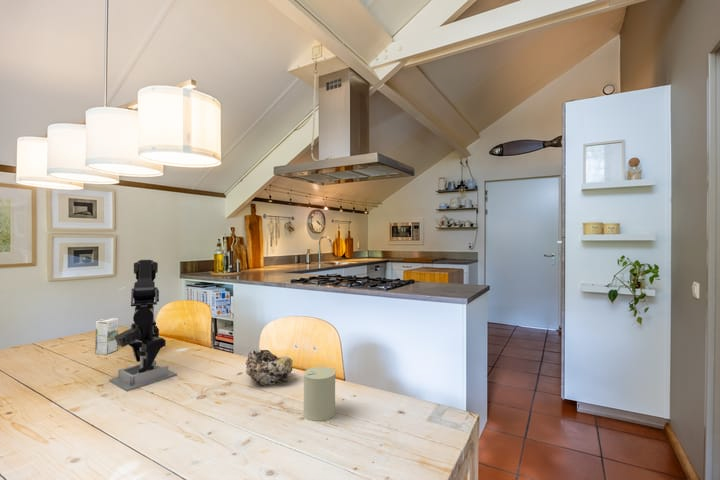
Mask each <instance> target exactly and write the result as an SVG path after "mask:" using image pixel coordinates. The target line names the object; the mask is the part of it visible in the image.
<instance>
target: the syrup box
mask: <svg viewBox="0 0 720 480" xmlns="http://www.w3.org/2000/svg"><path fill="white" fill-rule="evenodd" d="M119 320H120V319H119V318H116V317H106V318H102V319H98V320H96V321H95V347H94V348H95V349H94V351H95V355H109V354H112V353H114V352H117V351H118V350H119V345H118V344H117V342H116V340H115V336H116V335H118V334H119Z"/></svg>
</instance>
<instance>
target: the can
mask: <svg viewBox="0 0 720 480" xmlns="http://www.w3.org/2000/svg"><path fill="white" fill-rule="evenodd" d="M336 374H337V372H336V370H335V369H334V368H332V367H329V366H313V367H310V368H308V369H306V370H305V371H304V372H303V412H302V414H303V417H304V418H305V419H307V420H308V421H309V420H310V421H312V422H313V421H314V422H324V421H326V420H327V421H328V420H329V419H331V418H332V417H334V416H335V415H336V411H337V410H336Z"/></svg>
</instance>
